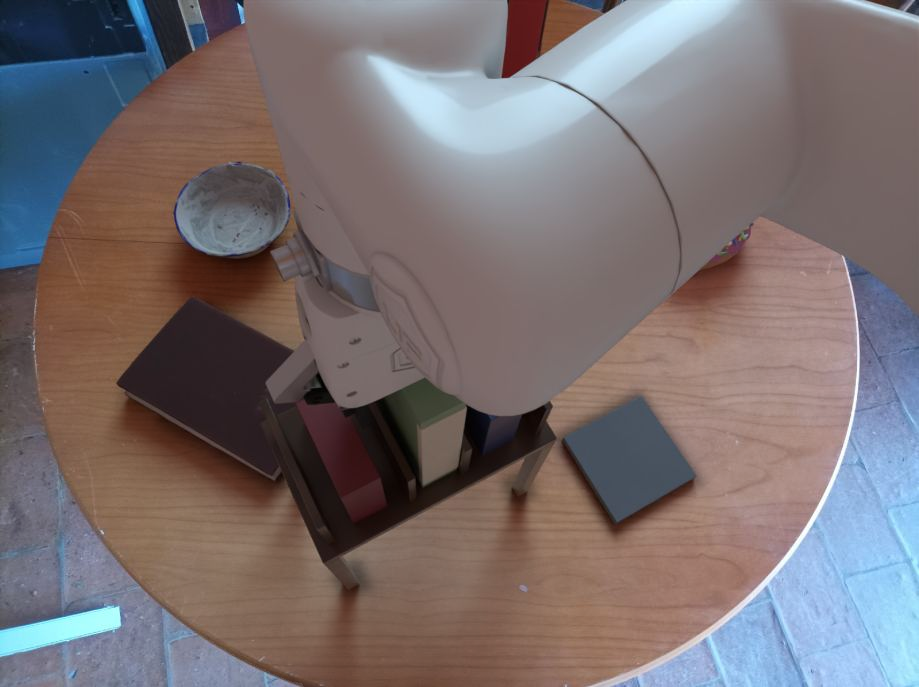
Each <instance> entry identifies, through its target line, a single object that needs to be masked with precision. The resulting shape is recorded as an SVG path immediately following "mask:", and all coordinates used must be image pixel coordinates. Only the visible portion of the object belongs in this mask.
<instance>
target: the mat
mask: <svg viewBox="0 0 919 687" xmlns="http://www.w3.org/2000/svg"><path fill="white" fill-rule="evenodd" d="M561 441H562V443H563V445H564V446H565V447H566V449H567V451H568V452H569V454H570V455H571V457H572V458H573V460H574V461H575V463H576V465H577V466H578V468H579V470H580V471H581V473H582V474H583V476H584V478H585V479H586V481H587V483H588V484H589V486H590V488H591V489H592V491H593V492H594V494H595V495H596V497H597V499H598V500H599V502H600V503H601V505H602V507H603V508H604V510H605V511H606V513H607V514H608V516H609V519H610V520H611V521H612V522H613V523H614V525H616V524H619V523H621V522H622V521H624V520H625V519H627V518H629V517H630V516H632V515H634V514H636V513H637V512H639V511H641V510H643V509H644V508H646V507H647V506H649V505H651V504H653V503H654V502H657V501H658V500H660V499H662V498H663V497H665V496H667V495H668V494H670V493H671V492H673V491H675V490H677V489H679V488H680V487H682V486H684V485H686V484H687V483H689V482H690V481H693V480H694V479H696V477H697V476H698V475H697V474H696V472H695V471H694V469H693V468H692V467H691V465H690V464H689V462H688V461H687V459H686V458H685V456H684V455H683V453H682V452H681V451H680V449H679V448H678V446H677V445H676V444H675V441H674V440H673V439H672V438H671V436H670V435H669V433H668V432H667V430H666V429H665V428H664V425H662V423H661V422H660V420H659V419H658V418H657V416H656V415H655V413H654V412H653V410H652V409H651V407H650V406H649V405H648V403H647V401H646V400H645V399H644V397H643V396H642V395H639V396H638V397H636V398H634V399H632V400H630V401H628V402H626V403H625V404H623V405H621V406H619V407H617V408H615V409H614V410H612V411H609V412H608V413H606V414H604V415H602V416H600V417H599V418H597V419H595V420H593V421H591V422H589V423H587V424H586V425H584V426H582V427H580V428H578V429H576V430H574V431H572V432H571V433H569V434H567V435H565V436H563V437H562V439H561Z"/></svg>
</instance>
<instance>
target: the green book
mask: <svg viewBox="0 0 919 687" xmlns="http://www.w3.org/2000/svg"><path fill="white" fill-rule="evenodd" d="M376 401H377V403H378V405H379V407H380V408H381V410H382V412H383V414H384V416H385V418H386V420H387V422H388V424H389V426H390V427H391V429H392V431H393V433H394V435H395V437H396V439H397V441H398V443H399V444H400V446H401V448H402V450H403V452H404V454H405V456H406V458H407V460H408V462H409V463H410V465H411V467H412V469H413V471H414V473H415V475H416V477H417V479H418V480H419V482H420V484H421V486H422V487H425V486H427V485H429V484H430V483H432V482H434V481H436V480H438V479H440V478H442V477H444V476H446V475H447V474H449V473H451V472H453V471H455V470H457V467H458V464H459V458H460V451H461V444H462V438H463V431H464V424H465V417H466V411H467V407H466V404H465V403H464V402H462V401H461V400H460V399H458V398H457V397H456V396H454V395H451V394H448V393H445V392H443V391H441V390H440V389H438V388H437V387H435V386H434V385H433V384H432V383H431V382H429V381H428V380H427V379H426V378H423V379H421V380H419V381H417V382H415V383H413V384H410V385H408V386H406V387H404V388H402V389H400V390H398V391H396V392H394V393H392V394H389V395H387V396H385V397H383V398H381V399H379V400H376Z"/></svg>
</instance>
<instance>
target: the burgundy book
mask: <svg viewBox="0 0 919 687" xmlns="http://www.w3.org/2000/svg"><path fill="white" fill-rule="evenodd" d="M295 404H296V406H297V408H298V410H299V412H300V414H301V417H302V419H303V421H304V423H305V425H306V427H307V429H308V431H309V433H310V435H311V438H312V440H313V442H314V444H315V446H316V448H317V450H318V452H319V454H320V456H321V459H322V461H323V463H324V465H325V467H326V469H327V471H328V473H329V475H330V477H331V480H332V482H333V484H334V486H335V488H336V490H337V492H338V494H339V496H340V498H341V500H342V502H343V504H344V506H345V508H346V510H347V512H348V514H349V516H350V518H351V520H352V522H353V524H355V523H356V522H358V521H360V520H362V519H364V518H366V517H368V516H370V515H372V514H374V513H375V512H377V511H379V510H381V509H383V508H385V507H387V502H386V498H385V494H384V490H383V486H382V482H381V478H380V475H379V473H378V471H377V469H376V467H375V465H374V463H373V461H372V459H371V457H370V455H369V453H368V451H367V449H366V448H365V446H364V444H363V442H362V440H361V438H360V436H359V434H358V432H357V430H356V428H355V426H354V424H353V422H352V420H351V418H350V416H349V417H346V418H345V416H344V415H343V413H342V411H341V410H339V409H338V407H337V405H336V403H327V404H318V405H307V404H306V401H305V400H301V401H300V402H299V403H295Z"/></svg>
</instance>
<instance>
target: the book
mask: <svg viewBox="0 0 919 687" xmlns="http://www.w3.org/2000/svg"><path fill="white" fill-rule="evenodd" d="M294 351H295V350H293V349H291V348H289V347H288V346H286V345H284V344H282V343H280V342H278V341H277V340H275V339H273V338H271V337H269V336H267V335H266V334H264V333H262V332H261V331H259V330H256V329H255V328H253V327H251V326H249V325H247V324H246V323H243V322H242V321H240V320H238V319H236V318H234V317H232V316H231V315H229V314H227V313H226V312H223V311H222V310H220V309H219V308H216V307H215V306H214V305H211V304H210V303H207V302H205V301H204V300H203V299H200V298H199V297H197V296H194V295H192V296H190V297H189V298H188V299H187V300H186V301H185V302H184V303H183V304H182V305H181V307H179V309H178V310H177V311H176V312H175V313H174V314H173V316H172V317H171V318H170V319H168V321H167V322H166V323H165V324H164V325H163V327H162V328H161V329H160V330H159V331H158V332H157V333H156V334H155V335H154V337H153V338H152V339H151V340H150V342H149V343H148V344H147V345H146V346H145V347H144V348H143V350H141V352H140V353H139V354H138V355H137V356H136V357H135V358H134V359H133V361H132V362H131V363H130V365H129V366H128V368H126V369H125V370H124V372H123V373H122V374H121V375H120V377H119V378H118V379H117V381H116V382H115V383H116V385H117V386H118V387H119V388H121V389H123V390H125V391H124V395H125V396H126V397H127V398H129V399H130V400H132V401H134V402H135V403H137V404H139V405H141V406H143V407H144V408H146V409H148V410H150V411H151V412H153V413H155V414H156V415H158V416H160V417H162V418H163V419H165V420H167V421H168V422H170V423H171V424H174V425H175V426H177V427H178V428H180V429H181V430H183V431H186V432H187V433H189V434H190V435H192V436H194V437H196V438H198V439H200V441H203V442H204V443H206V444H208V445H210V446H211V447H213V448H215V449H217V450H218V451H220V452H222V453H224V454H225V455H227V456H229V458H230V457H231V458H232V459H234V460H235V461H237V462H239V463H241V464H243V465H244V466H245V467H248V468H249V469H251V470H252V471H254V472H256V474H259V475H261V476H263V478H266V479H268V481H271V482H273V483H274V484H277V483H278V482H279V481H280V479H281V478H282V477H283V473H282V471H281V469H280V467H279V464H278V462H277V460H276V458H275V456H274V453H273V451H272V449H271V447H270V444H269V442H268V440H267V438H266V435H265V433H264V431H263V429H262V427H261V423H262V422H264V421H266V420H267V419H266V416H265V414H264V412H263V410H262V408H261V405H260V403H259V402H260V401H262V400H264V399H268V401H269V403H270V404H271V406H272V408H273V409H274V411H275V413H276V415H279V414H281V413H283V412H285V411H287V410H289V409H292V408H294V407H296V404H295V403H283V404H275V403H274V402H273V399H272V397H271V395H270V393H269V391H268V389H267V387H266V384H265V382H266V381H267V380H268V379H269V378H270V377H271V375H272V374H273V373H274V372H275V371H276V370H277V369H278V368H279V367H280V366H281V365H282V364H283V363H284V362H285V361H286V360H287V358H288V357H289V356H290V355H291V354H292V353H293V352H294Z"/></svg>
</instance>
